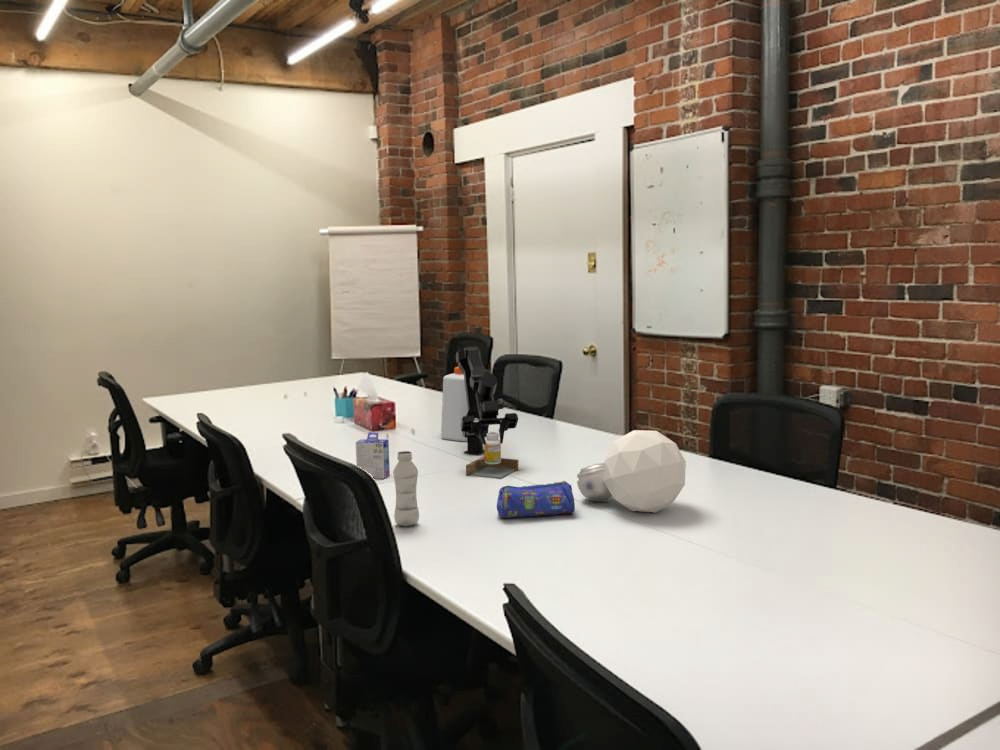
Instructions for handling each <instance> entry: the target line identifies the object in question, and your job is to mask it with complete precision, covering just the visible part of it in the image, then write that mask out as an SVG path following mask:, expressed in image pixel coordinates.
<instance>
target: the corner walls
mask: <svg viewBox="0 0 1000 750" xmlns="http://www.w3.org/2000/svg"><path fill="white" fill-rule="evenodd" d="M486 466H487V467H497V468H507V469H515V471H514V472H517V471H519V468H520V467H519V459H513V458H503V457H501V462H500V463H498V464H487V463H485V455H484V456H482V457H480V458H477V459H476V460H475V459H474V461H472V462H470V463H468V464H466V465H465V476H467V477H472V476H471V474H472V473H474V472H476V471H478V470H480V469H482V468H484V467H486Z"/></svg>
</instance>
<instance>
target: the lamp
mask: <svg viewBox="0 0 1000 750" xmlns="http://www.w3.org/2000/svg"><path fill="white" fill-rule="evenodd" d="M686 463H687V461H686V460H685V458H684V456H683V454H682V452H681V451H680V449H679V447H678V445H677V443H676V442H674V441H673V440H671V439H670V438H668V437H667V436H666V435H664V434H662V433H661V432H659V431H657V430H642V429H641V430H639V429H638V430H636V429H634V430H632V431H630V432H628V433H626V434H624V435H623V436H620V437H618V438H617V439H615V440H614V442H613V443H612V445H611V447H610V449H609V451H608V452H607V453H606V456H605V458H604V462H602V463H595V464H591V465H588V466H586V467H582V468H581V469H580V471H579V473H577V476H576V478H577V479H578V480H576V481H577V482H576V484H577V488H578V490H579V492H580V493H581V495H582V496H583V497H584V498H585V499H587V500H589V501H592V502H594V503H595V502H596V503H602V502H606V501H609V500H610V499H612V498H613V499H614V500H615V501H616V502H618V503H620V504H621V505H622V506H624V507H625V508H626V509H627V510H630V512H634V511H639V512H638V513H650V512H656V513H657V512H659V511H661V510H662V509H664V508H666V507H667V506H669V505H670V504H673V503H674V502H675V500H676V499H677V498H678V497H679V494H680V493H681V492H682V490H683V488H684V487H685V486H686V465H687V464H686Z"/></svg>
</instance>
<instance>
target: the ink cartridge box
mask: <svg viewBox="0 0 1000 750" xmlns="http://www.w3.org/2000/svg"><path fill="white" fill-rule="evenodd" d="M372 435H374V436H372ZM389 445H390V443H389V439H388V438H387V439H386V438H379V432H368V433H367V437H366V438H362V439H359V440H357V441H356V442H355V457H356V467H357V466H359V467H361V468H362V469H364V470H366V471H367V472H368V473H370V474H371V475H372V476H373V477H374V478H373V479H380V480H381V479H385V478H388V477H389V476H391V475H390V474H391V472H390V469H391V468H390V447H389Z"/></svg>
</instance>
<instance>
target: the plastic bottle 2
mask: <svg viewBox="0 0 1000 750" xmlns="http://www.w3.org/2000/svg"><path fill="white" fill-rule="evenodd" d="M442 379H443V380H442V402H441V403H442V405H441V426H440V427H441V428H440V429H441V430H440V431H441V432H440V436H441V438H442V439H443V440H446V441H447V440H448V441H454V442H463V443H465V442H466V443H467V437H466V438H465V437H464V436H463V433H462V431H461V420H462V417H463V416H466V415H467V412H468V407H467V398H466V390H465V381H464V374H463V373H462V371H461V370H460V369H459V367H458V366H455V367H454V369H453V373H449V374H447V375H445V376H443V378H442ZM467 433H468V432H467Z"/></svg>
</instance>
